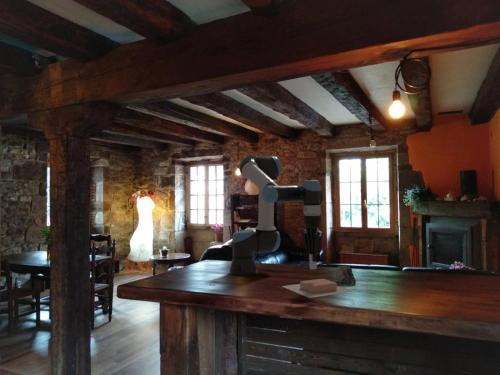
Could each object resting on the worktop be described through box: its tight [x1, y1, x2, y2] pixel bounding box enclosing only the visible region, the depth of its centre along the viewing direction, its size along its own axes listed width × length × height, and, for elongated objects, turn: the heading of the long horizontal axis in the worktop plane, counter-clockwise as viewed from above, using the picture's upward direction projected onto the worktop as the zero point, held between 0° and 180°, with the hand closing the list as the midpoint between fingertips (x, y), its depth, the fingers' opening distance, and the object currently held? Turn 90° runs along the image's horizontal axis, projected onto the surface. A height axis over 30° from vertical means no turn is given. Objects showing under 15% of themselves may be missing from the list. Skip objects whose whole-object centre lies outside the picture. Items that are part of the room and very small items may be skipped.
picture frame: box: [299, 278, 338, 294], centre depth 157 cm, size 3×12×10 cm
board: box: [281, 283, 354, 299], centre depth 159 cm, size 22×22×1 cm
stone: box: [333, 265, 357, 286], centre depth 171 cm, size 10×10×10 cm
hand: (313, 268), depth 161 cm, fingers closed
